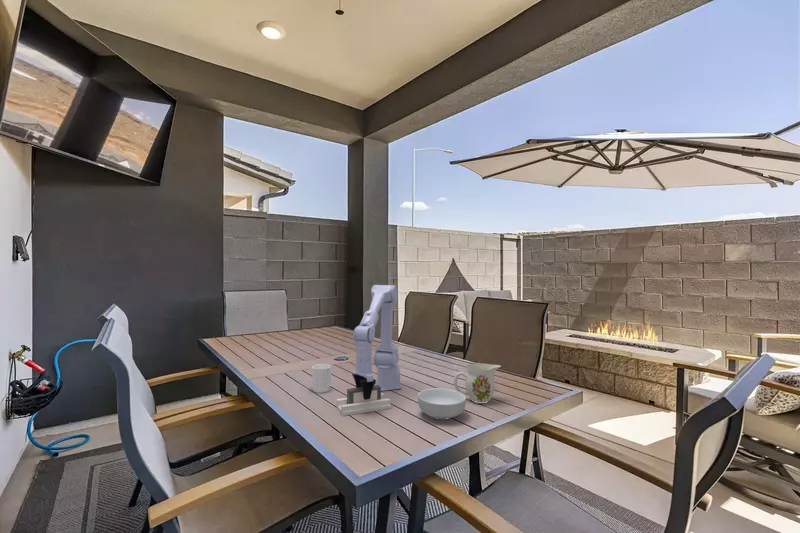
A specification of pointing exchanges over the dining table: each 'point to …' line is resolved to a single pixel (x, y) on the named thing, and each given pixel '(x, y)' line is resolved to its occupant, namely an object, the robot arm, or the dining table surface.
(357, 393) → the grey rectangular block
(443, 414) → the cereal bowl
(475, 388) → the pitcher
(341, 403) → the ledge
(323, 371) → the white cup
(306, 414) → the dining table surface
